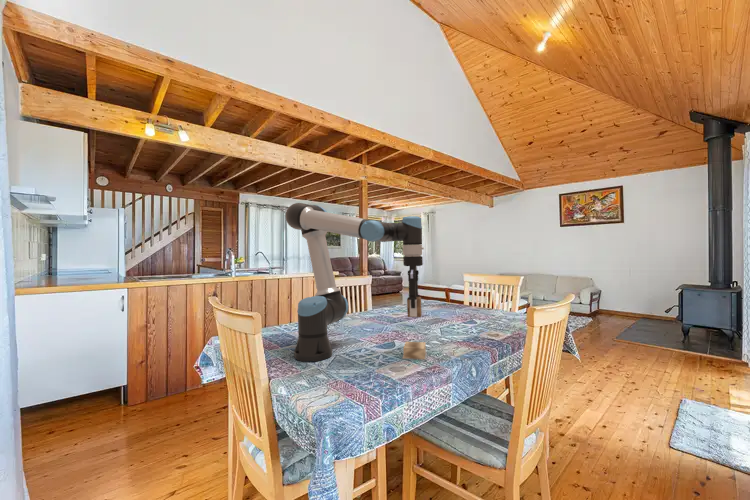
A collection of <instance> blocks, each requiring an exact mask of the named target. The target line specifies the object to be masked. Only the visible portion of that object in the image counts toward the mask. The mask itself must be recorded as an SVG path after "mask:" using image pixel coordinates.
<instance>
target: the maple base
mask: <svg viewBox="0 0 750 500" xmlns="http://www.w3.org/2000/svg"><path fill="white" fill-rule="evenodd" d="M426 346H427V345H426V342H425V341H424V342H422V341H421V342H420V341H405V343H404V345H403V354H404V358H413V359H412V360H420V359H425V354H426V352H427V349H426Z"/></svg>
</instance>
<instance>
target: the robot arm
mask: <svg viewBox="0 0 750 500" xmlns="http://www.w3.org/2000/svg"><path fill="white" fill-rule="evenodd" d="M401 220H402V221H400V222H385V221H379V220H374V219H367V218H361V217H355V216H348V215H344V214H339V213H334V212H328V211H327V209H325V208H323V207H322V206H319V205H317V204H309V203H303V202H295V203H292V204H290V205H289V206H288V208H287V209H286V211H285V221H286V223H287V225H288V226H289V227H291V228H292V229H294V230H300V232H301V237H302V238H303V239H305V240H306V243H307V247H308V252H309V258H310V262H311V263H310V264H311V268H312V272H313V278H314V281H315V285H316V293H315V294H314V296H308V297H304V298H302V299H300V301H298V303H297V329H298V331H297V332H298V338H297V341H296V345H295V349H294V353H293V354H294V359H295V358H296V359H297V360H296V359H295V360H296V361H299V360H300V361H299V362H304V361H314V362H318V361H323V360H327V359H329V358H330V357H332V356H333V347H332V344H331V342H330V340H329V337H328V326H329V325H331V324H333V323H337V322H339V321H341V320H343V319H344V318H345V317H346V315H347V314H348V312H349V302H348V299H347V297H345V296H344V295H342V291H341V289H340V288H338V287H337V284H336V280H335V275H334V270H333V266H332V262H331V257H330V251H329V247H328V243H327V238H326V235H327V234H328V233H334V234H338V235H341V236H347V237H353V238H356V239H357V238H358V239H363V240H366V241H368V242H372V243H373V242H374V243H375V242H380V243H386V242H402V255H403V257H402V259H403V260H402V262H403V266H404V267H409V269H408V270H407V277H408V279H407V280H408V297H409V298H408V297H407V298H408V300H410V317H409V318H418V317H417V299H416V297H421V296H420V294H419V286H418V285H419V284H418V283H419V273H420V272H419V270H418V268H417V267H421V266H423V265H424V263H423V261H424V260H423V256H422V255H423V250H425V248H424V247H425V246H423V226H422V225H423V224H422V218H421V217H420V216H418V215H415V216H414V215H413V216H411V215H410V216H403V217H402V219H401Z"/></svg>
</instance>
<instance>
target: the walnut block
mask: <svg viewBox="0 0 750 500" xmlns="http://www.w3.org/2000/svg"><path fill="white" fill-rule="evenodd" d="M408 298H409V296H408V297H407V298H406V304H407V305H406V307H407V308H406V309H407V313H406V314H407V317H408V318H411V317H410V300H408ZM416 299H417V317H416V318H421V317H422V297H421V296H420V297H416Z"/></svg>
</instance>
